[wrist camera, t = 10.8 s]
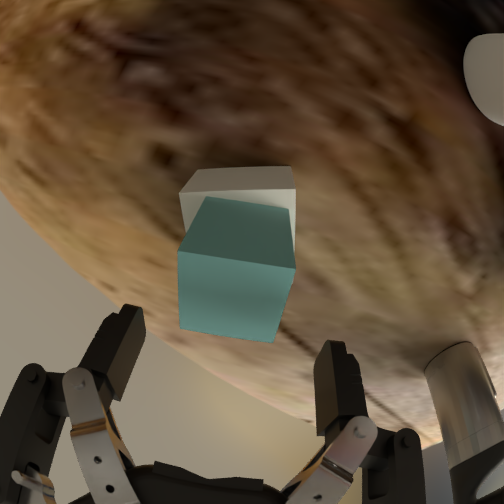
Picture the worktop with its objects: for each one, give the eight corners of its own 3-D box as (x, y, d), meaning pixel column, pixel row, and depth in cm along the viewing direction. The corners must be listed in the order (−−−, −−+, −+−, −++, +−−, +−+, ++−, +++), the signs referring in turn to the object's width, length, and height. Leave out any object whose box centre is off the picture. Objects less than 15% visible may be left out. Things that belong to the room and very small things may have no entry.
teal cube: (288, 208, 17) (295, 269, 12) (273, 274, 20) (272, 343, 15) (205, 196, 17) (177, 250, 12) (201, 263, 19) (179, 328, 14)
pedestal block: (290, 165, 20) (295, 189, 16) (289, 245, 24) (292, 283, 20) (198, 168, 21) (178, 193, 17) (208, 246, 25) (196, 282, 20)
